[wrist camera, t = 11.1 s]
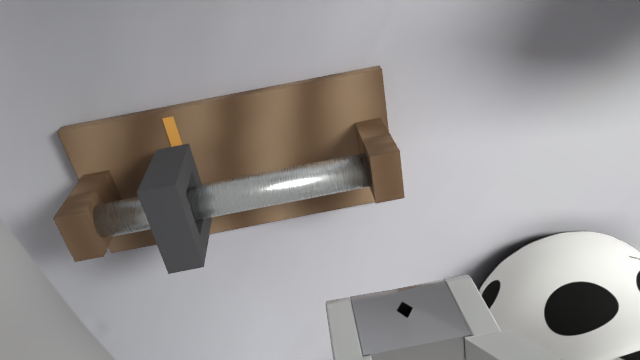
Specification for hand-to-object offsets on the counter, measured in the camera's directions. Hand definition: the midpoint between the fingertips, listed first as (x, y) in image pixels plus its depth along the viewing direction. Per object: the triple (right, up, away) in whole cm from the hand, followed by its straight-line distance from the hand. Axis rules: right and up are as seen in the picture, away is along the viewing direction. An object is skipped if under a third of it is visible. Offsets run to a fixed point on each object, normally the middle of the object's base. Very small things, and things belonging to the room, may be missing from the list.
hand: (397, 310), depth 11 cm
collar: (-12, +2, +28) cm, 30 cm away
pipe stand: (-8, +4, +30) cm, 31 cm away
